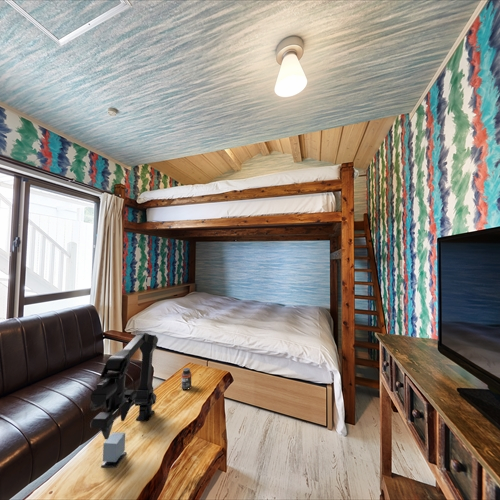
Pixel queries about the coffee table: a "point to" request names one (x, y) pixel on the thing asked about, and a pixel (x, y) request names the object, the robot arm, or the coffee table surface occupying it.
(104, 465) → the post
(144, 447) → the coffee table surface
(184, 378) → the supplement bottle
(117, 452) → the grey block on base
